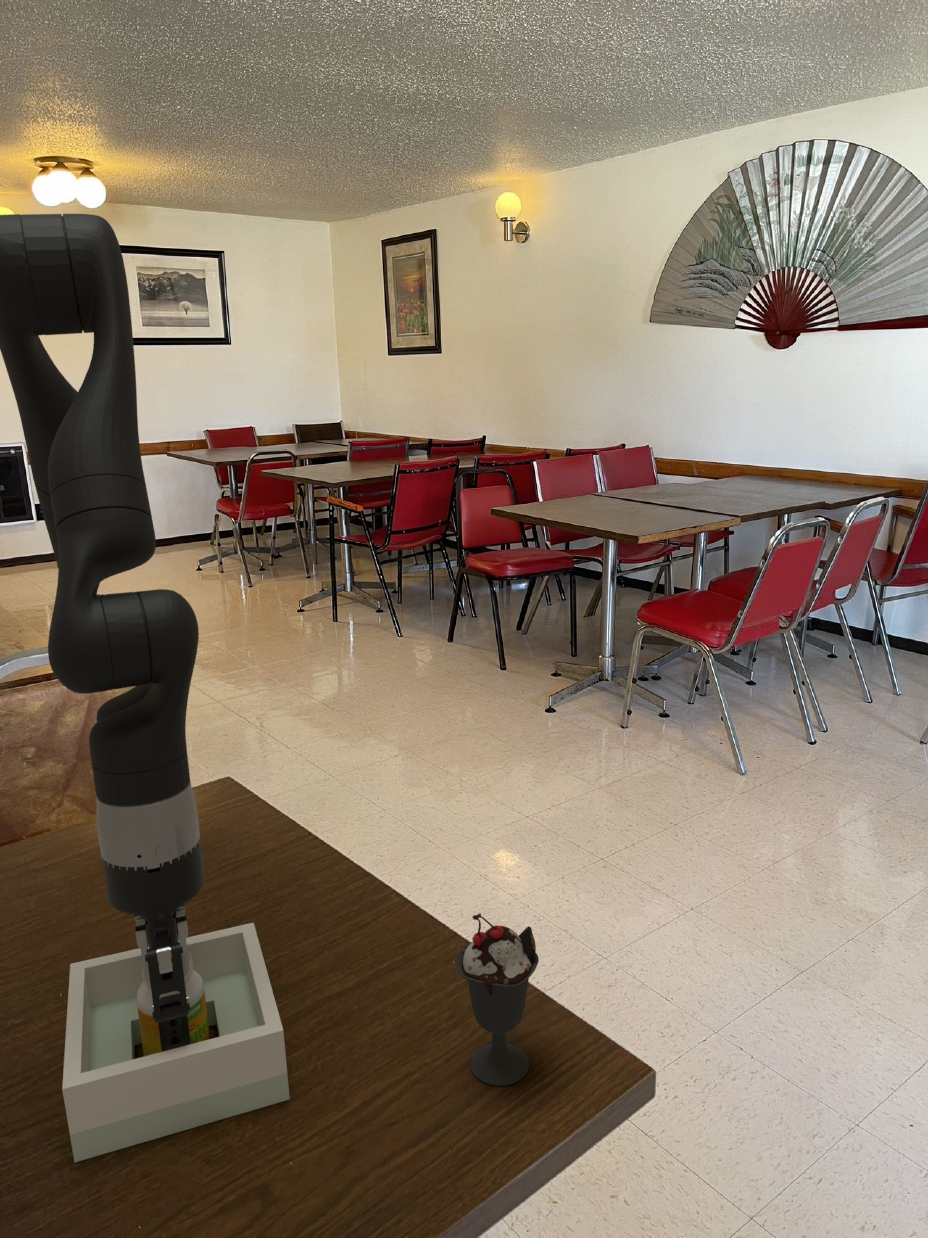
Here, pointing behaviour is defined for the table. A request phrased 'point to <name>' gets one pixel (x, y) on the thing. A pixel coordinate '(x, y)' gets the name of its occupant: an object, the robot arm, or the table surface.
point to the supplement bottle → (195, 1017)
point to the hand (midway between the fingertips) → (172, 1014)
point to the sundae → (498, 997)
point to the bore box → (178, 1078)
